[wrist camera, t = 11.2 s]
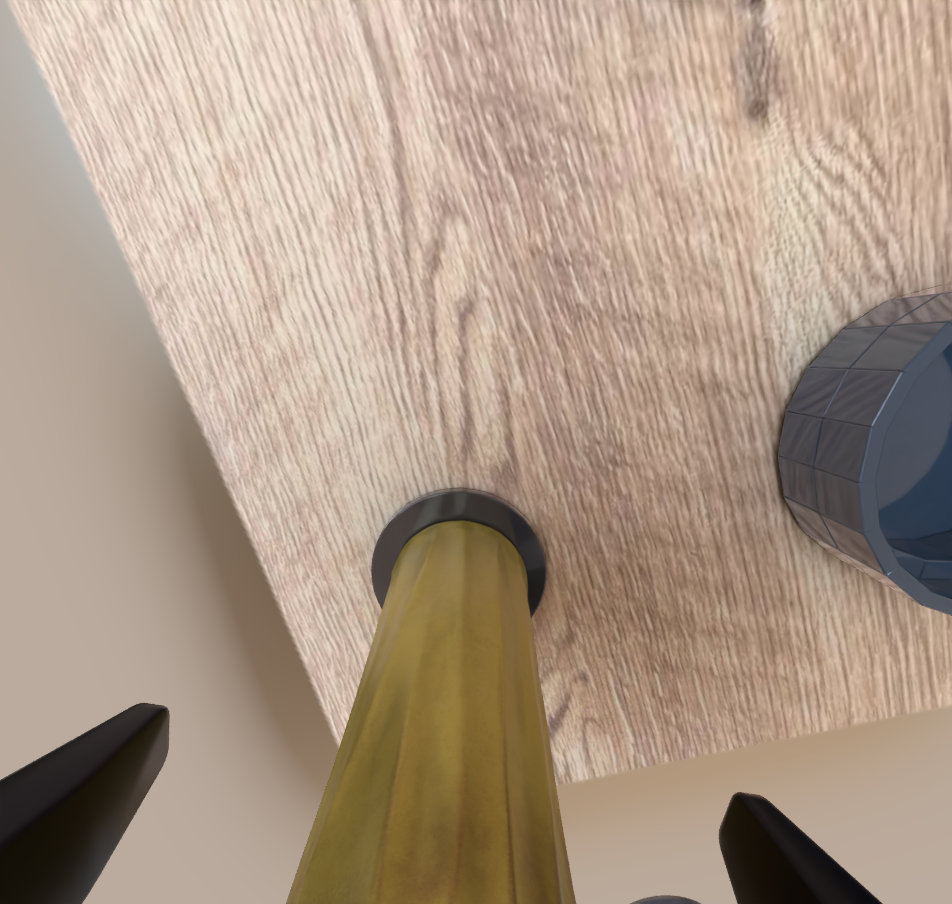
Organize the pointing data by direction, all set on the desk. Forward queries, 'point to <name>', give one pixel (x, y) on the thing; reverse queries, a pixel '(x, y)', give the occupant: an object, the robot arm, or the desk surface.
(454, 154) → the desk surface
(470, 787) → the vase
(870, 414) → the bowl
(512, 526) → the coaster
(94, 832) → the robot arm
